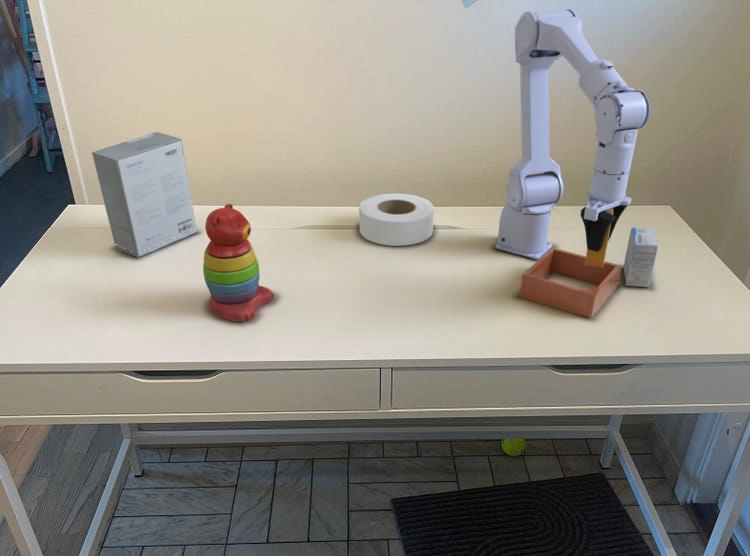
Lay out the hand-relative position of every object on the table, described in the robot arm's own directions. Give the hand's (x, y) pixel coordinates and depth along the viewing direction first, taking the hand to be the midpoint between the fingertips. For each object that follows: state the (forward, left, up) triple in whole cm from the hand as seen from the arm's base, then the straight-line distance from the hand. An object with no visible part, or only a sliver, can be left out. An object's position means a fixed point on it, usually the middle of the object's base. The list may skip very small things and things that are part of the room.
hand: (597, 245), depth 124 cm
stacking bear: (-51, -37, -11) cm, 64 cm away
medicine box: (+5, +13, -11) cm, 17 cm away
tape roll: (-45, +5, -11) cm, 46 cm away
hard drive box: (-83, -27, -11) cm, 88 cm away
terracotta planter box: (-4, 0, -10) cm, 11 cm away
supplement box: (0, 0, -4) cm, 4 cm away
